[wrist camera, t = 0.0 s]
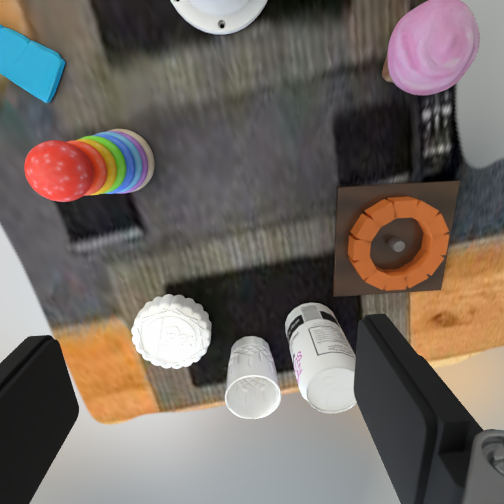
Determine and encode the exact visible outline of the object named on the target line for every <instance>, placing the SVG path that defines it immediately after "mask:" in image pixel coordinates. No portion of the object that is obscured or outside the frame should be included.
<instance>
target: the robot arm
mask: <svg viewBox="0 0 504 504" xmlns="http://www.w3.org/2000/svg"><path fill="white" fill-rule="evenodd" d="M170 1H171V2H172V4H173V5H174V7H175V8H176V10H177V11H178V13H179V14H180V15H181V16H182V17H183V18H184V19H185V20H186V21H187V22H188V23H190V24H191V25H193V26H194V27H195V28H197V29H200V30H202V31H204V32H207V33H211V34H230V33H234V32H237V31H239V30H241V29H243V28H245V27H246V26H248V25H249V24H250V23H252V22H253V21H254V20H255V19H256V18H257V17H258V15H259V14H260V13H261V11H262V10H263V8H264V7H265V5H266V3H267V1H268V0H180V1H179V2H177V1H176V0H170ZM221 24H223V25H224V28H220V25H221ZM354 396H355V399H356V402H357V404H358V406H359V409H360V411H361V413H362V415H363V418H364V420H365V422H366V424H367V427H368V429H369V431H370V433H371V436H372V438H373V441H374V443H375V445H376V447H377V450H378V452H379V454H380V456H381V459H382V461H383V463H384V466H385V468H386V470H387V472H388V475H389V477H390V480H391V482H392V484H393V486H394V489H395V491H396V493H397V496H398V498H399V500H400V502H401V504H504V430H495V429H490V430H483V429H482V428H481V427H480V426H479V424H478V423H477V422H476V421H475V420H474V418H473V417H472V416H471V415H470V413H469V412H468V411H467V410H466V409H465V407H464V406H463V405H462V404H461V402H460V401H459V400H458V399H457V398H456V396H455V395H454V394H453V393H452V391H451V390H450V389H449V388H448V387H447V385H446V384H445V383H444V382H443V380H442V379H441V378H440V377H439V376H438V374H437V373H436V372H435V371H434V369H433V368H432V367H431V366H430V365H429V363H428V362H427V361H426V360H425V359H424V358H423V357H422V356H420V355H418V354H417V353H416V352H415V350H414V349H413V348H412V347H411V345H410V344H409V343H408V342H407V340H406V339H405V338H404V337H403V335H402V334H401V333H400V332H399V330H398V329H397V328H396V327H395V326H394V324H393V323H392V322H391V321H390V319H389V318H388V317H387V316H386V315H385V314H372V315H365V317H364V320H360V321H359V323H358V335H357V348H356V361H355V374H354ZM78 414H79V405H78V402H77V399H76V396H75V392H74V390H73V386H72V383H71V379H70V376H69V373H68V370H67V367H66V363H65V360H64V357H63V354H62V350H61V347H60V344H59V342H58V341H57V340H54V339H53V337H52V336H50V335H44V336H30V337H28V338H26V339H25V340H24V341H23V342H22V343H21V344H20V345H19V346H18V347H17V348H16V349H15V350H14V351H13V352H12V353H10V354H9V355H8V356H7V357H6V358H5V359H4V360H3V361H2V362H1V363H0V504H29V503H30V501H31V499H32V498H33V496H34V494H35V492H36V491H37V489H38V487H39V485H40V483H41V482H42V480H43V478H44V476H45V475H46V473H47V471H48V469H49V467H50V466H51V464H52V462H53V460H54V459H55V457H56V455H57V453H58V451H59V450H60V448H61V446H62V444H63V443H64V441H65V439H66V437H67V435H68V434H69V432H70V430H71V428H72V427H73V425H74V423H75V421H76V420H77V417H78Z"/></svg>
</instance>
